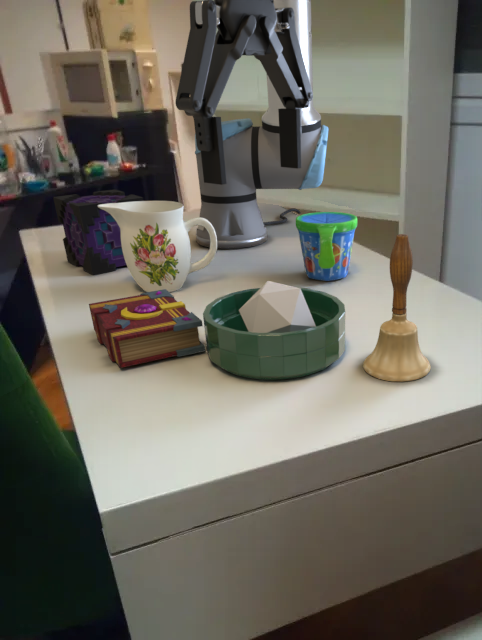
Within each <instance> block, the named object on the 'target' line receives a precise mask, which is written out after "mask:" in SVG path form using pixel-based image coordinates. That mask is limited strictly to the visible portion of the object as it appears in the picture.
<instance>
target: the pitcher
mask: <svg viewBox="0 0 482 640" xmlns="http://www.w3.org/2000/svg"><path fill="white" fill-rule="evenodd" d="M98 207H99V208H100V209H102V210H105V211H106V212H108V213H109V214H111V216H112V217H113V218H114V219H115V220H116V222H117V224H118V225H119V227H120V230H121V245H122V251H123V255H124V259H125V262H126V265H125V266H126V267H127V269H128V271H129V273H130V276H131V277H132V278H133V280H134V281H135V283H136V284H137V285H138V286H139V287H140V288H141V289H142V290H143V291H144V292H145V293H147V292H152V291H158V290H163V289H166V290H167V291H168V292H169V293H173V292H176V291H178V290H180V289H181V288H182V287H183V285H184V283H185V281H186V279H187V278H188V275H189V274H191V273H194V272H197V271H199V270H202V269H204V268H206V267H207V266H208V265H210V263H211V262H213V260H214V258H215V257H216V254H217V250H218V248H217V236H216V232H215V230H214V227H213V226H212V224H211V223H210V222H209V221H208V220H206V219H205V218H201V217H198V216H197V217H194V218H191V219H189V220H184V209H185V207H184V204H183V203H182V202H178V201H174V200H173V201H172V200H143V201H133V202H122V203H108V204H100V205H98ZM198 225H201V226H203V227H205V228H206V229H207V231H208V233H209V235H210V241H211V244H210V247H209V250H208V252H207V253H206V255H204V257H202V258H201V259H200V260H198V261H196V262H191V257H192V249H191V247H192V246H191V239H190V235H189V232H190V230H191V229H192V228H194V227H196V226H197V227H198Z"/></svg>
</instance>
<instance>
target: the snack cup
mask: <svg viewBox="0 0 482 640" xmlns="http://www.w3.org/2000/svg"><path fill="white" fill-rule="evenodd" d="M295 227H296V229H297V231H298V236H299V242H300V243H299V244H300V248H301V255H302V260H303V265H304V266H303V267H304V271H305V274H306V276H307V277H308V278H309V279H311V280H315V281H324V282H331V281H337V280H341V279H344V278H346V277H347V275H348V274H349V269H350V263H351V258H352V251H353V245H354V237H355V231H356V229H357V227H358V216H356V215H355V214H352V213H348V212H340V211H317V212H309V213H308V212H307V213H303V214H299V215H298V216H296V217H295Z"/></svg>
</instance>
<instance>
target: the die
mask: <svg viewBox="0 0 482 640" xmlns="http://www.w3.org/2000/svg"><path fill="white" fill-rule="evenodd" d="M259 288H260V289H259V290H258V291H257V292H256V293H255V294H254V295H253V296H252V297H251V298H250V299H249V300H248V301H247V302H246V303H245V304H244V305H243V306H242V307H241V308H240V309H239V312H240V314H241V316H242V318H243V321H244V323H245V325H246V327H247V329H248V331H249V332H254V333H285V332H293V331H300V330H305V329H309V328H312V327H316V325H315V323H314V320H313V318H312V315H311V313H310V310H309V308H308V306H307V303H306V301H305V298H304V296H303V293H302V291H301V288H302V287H296V286H292V285H288V284H283V283H279V282H275V281H271V280H267V281H266V282H265V283H264V284H263V285H262V286H261V287H259Z"/></svg>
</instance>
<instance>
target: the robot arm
mask: <svg viewBox="0 0 482 640" xmlns="http://www.w3.org/2000/svg"><path fill="white" fill-rule="evenodd" d="M189 28H190V29H189V32H188V38H187V41H186V48H185V52H184V56H183V57H184V58H183V61H182V68H181V72H180V77H179V81H178V87H177V92H176V97H175V107H176V108H177V110H179V111H183V112H184V113H185V115H186V116H188V117H192V118H193V124H194V131H195V132H194V145H195V151H194V155H195V159H196V168H197V169H196V170H197V176H198V186H199V187H198V188H199V194H200V195H199V196H200V210H199V217H201V218H205V219H206V220H208V221H209V222H210V223H211V224H212V226H213V227H214V230H215V232H216V236H217V249H219V250H220V249H222V250H223V249H224V250H226V249H227V250H228V249H229V250H230V249H233V250H234V249H243V248H249V247H255V246H258V245H262V244H264V243H265V242H267V241H268V230H267V227H266V226H272V225H279V224H284V223H286V222H288V217H286V215H287V214H289V213H292V212H295V213H297V214H298V215H302V212H301V211H300V210H299V209H298V208H296V207H295V208H293V207H292V208H289V209H286V210H285V211H283V212H282V213H280V214H279V218H280V219H279V220H272V221H264V220H263V217H262V213H261V210H260V208H259V205H258V199H257V190H299V191H302V190H309V189H316V188H319V187H320V186H321V185H322V183H323V180H324V175H325V166H326V156H327V147H328V139H329V127H328V126H327V125H325V124H322V115H321V113H320V112H319V111H318V110H317V109H316V108H315V107H314V84H313V83H314V82H313V81H314V80H313V79H314V78H313V36H312V35H313V33H312V31H313V29H312V0H192V1H191V2H190V3H189ZM243 56H247V57H248V56H252V57H253V56H254V58H255V59H256V60H258V61H259V62H260V63H261V66H262V68H263V70H264V71H265V73H266V88H267V103H268V108H267V109H266V111H265V112H264V113H263V114H262V116H261V126H254V123H253V121H252V119H251V118H250V117H246V118H238V119H237V118H236V119H230V120H225V121H222V117H221V116H214V115H215V113H216V110H217V108H218V105H219V103H220V101H221V98H222V96H223V94H224V91H225V88H226V87H227V84H228V81H229V79H230V77H231V74H232V72H233V69H234V67H235V64H236V62H237V61H238V60H239V59H241V58H242V57H243ZM195 231H196V232H195V238H196V243H197V244H198V245H199V246H201V247H205V248H210V244H211V241H210V235H209V233H208V231H207V229H206V228H205V227H203V226H201V225H197V228H196V229H195Z"/></svg>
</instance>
